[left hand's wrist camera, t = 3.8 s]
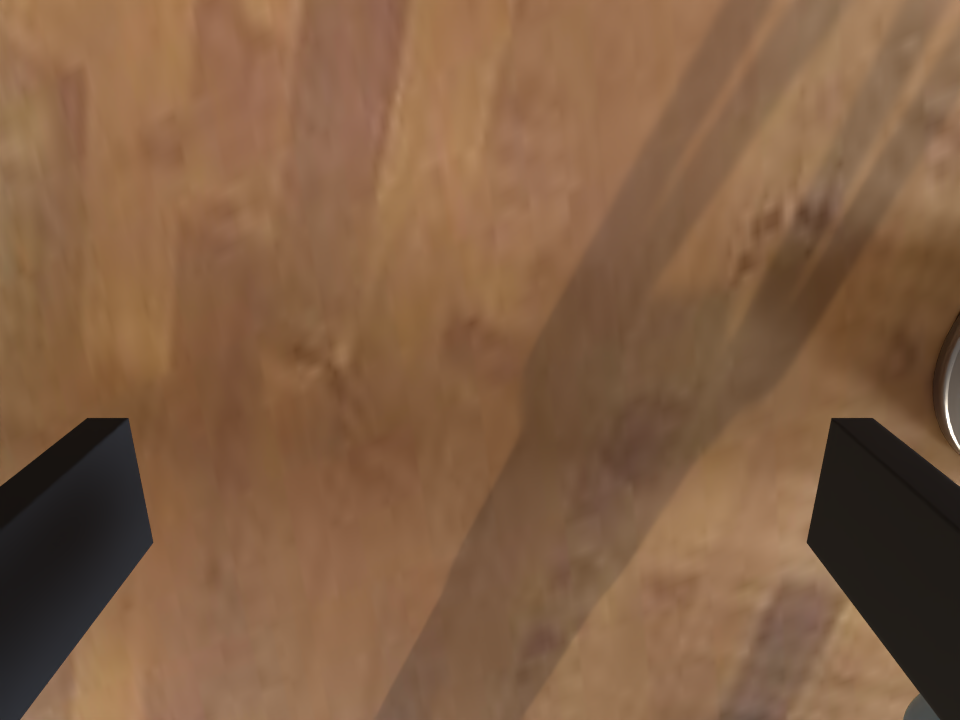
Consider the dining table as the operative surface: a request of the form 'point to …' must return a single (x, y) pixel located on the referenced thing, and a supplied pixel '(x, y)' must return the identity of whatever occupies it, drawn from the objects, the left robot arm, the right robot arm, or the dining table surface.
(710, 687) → the dining table surface
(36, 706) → the dining table surface
